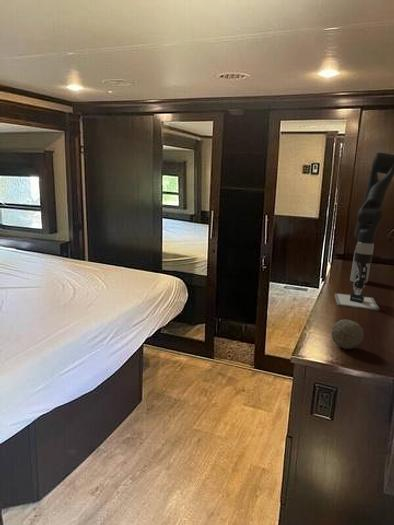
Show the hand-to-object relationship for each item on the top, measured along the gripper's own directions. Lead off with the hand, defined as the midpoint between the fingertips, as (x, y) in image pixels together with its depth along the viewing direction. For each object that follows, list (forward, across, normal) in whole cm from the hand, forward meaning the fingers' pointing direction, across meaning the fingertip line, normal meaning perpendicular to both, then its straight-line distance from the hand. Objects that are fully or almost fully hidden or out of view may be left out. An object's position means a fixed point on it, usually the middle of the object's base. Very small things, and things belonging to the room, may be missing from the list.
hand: (358, 285), depth 186 cm
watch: (+8, 0, 0) cm, 8 cm away
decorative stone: (+8, -56, +11) cm, 58 cm away
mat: (+8, 0, 0) cm, 8 cm away
